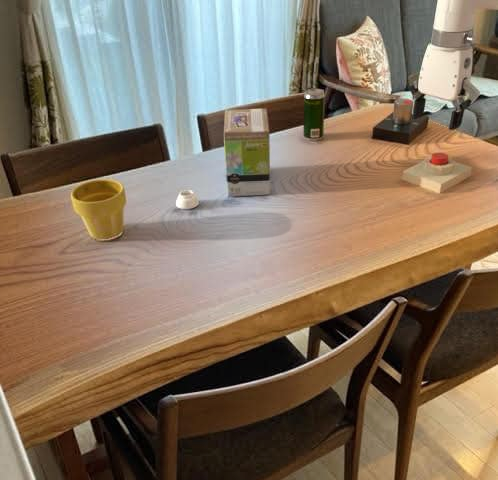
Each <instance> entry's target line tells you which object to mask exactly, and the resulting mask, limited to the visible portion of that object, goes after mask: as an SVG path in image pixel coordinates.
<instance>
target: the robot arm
mask: <svg viewBox="0 0 498 480" xmlns="http://www.w3.org/2000/svg"><path fill="white" fill-rule="evenodd" d="M479 9H480V10H481V9H483V10H494V11H498V0H437V2H436V8H435V15H434V21H433V22H434V23H433V28H432V32H431V40H430V42H429V43H428V45H427V47H426V50H425V53H424V56H423V59H422V62H421V67H420V71H419V72H417V73H414V74H410V75H409V76H408V77H407V81H408V85H409V91H410V93H411V95H412V101H413V102H414V103H413V110H412V114H413V119H417V118H420V117H422V116H425V115H424V114H425V108H426V102H427V99H426V97H425V96H430V97H433V98H437V99H440V100H446V101H450V102H451V104H452V106H453V109H454V110H452V111H451V116H450V122H449V126H448V130H449V131H454V130H456V129H458V128H460V126H461V125H462V124H463V123H462V122H463V118H464V114H465V110H467V109H468V108H469V107H470V106H472V105H473V104H475V101H476V100H477V99H478V97H479V96H480V94H481V91H480V90H479V89H478V88H477V87H476V86H475V85H474V84H473V83H472V82H471V80H472V79H471V78H472V71H473V57H474V56H473V55H474V54H473V46H470V45H471V44H474V43H475V42H476V39H477V37H476V35H473V26H474V22H475V18H476V11H477V10H479ZM467 95H468V97H467V99H466V98H465V97H466V96H467Z"/></svg>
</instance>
